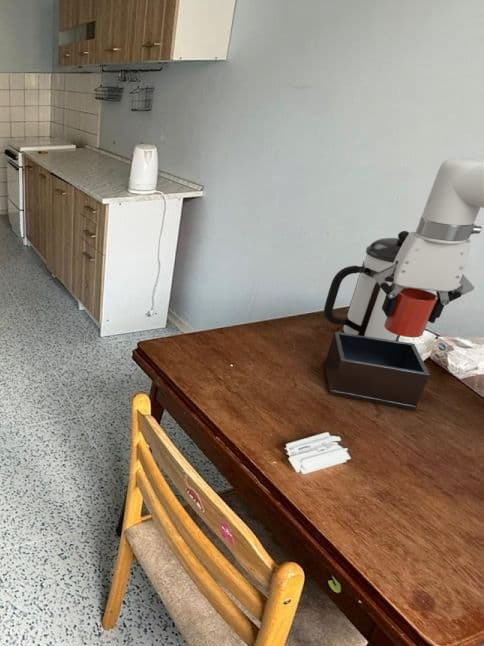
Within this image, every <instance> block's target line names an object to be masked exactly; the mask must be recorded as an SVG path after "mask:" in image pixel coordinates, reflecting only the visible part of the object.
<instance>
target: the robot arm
mask: <svg viewBox="0 0 484 646" xmlns="http://www.w3.org/2000/svg"><path fill="white" fill-rule="evenodd" d="M481 208H482V209H484V158H478V157H451V158H448V159H446V160H444V161H443V162H442V163H441V164H440V166H439V168H438V170H437V173H436V176H435V178H434V181H433V184H432V186H431V189H430V191H429V194H428V198H427V199H426V203H425V206H424V208H423V211H422V214H421V216H420V218H419V221H418V225H417V227H416V230H415V231H410V232H409V235H408V236H407V238H406V239H405V241H404V243H403V244H402V246H401V248H400V250H399V252H398V254H397V256H396V258H395V260H394V263H393V265H392V266H390V267H388V268H386V269H384V270H382V271H380V272H378V273H376V274H374V278H375V280H376V281H377V283H378V284H379V285H380V287H381V288H382V290H383V291H384V292H385V293H386V298H385V300H384V303H383V306H382V310H383V311H384V313H385V315H386V317H391V315H392V313H393V310H394V308H395V305H396V302H397V299H396V296H397V295H398V294H399V293H400V292H401V291H402V290H403V289H404V288H405V287H407V288H415V289H422V290H426V291H432V292H435V295H437V297H438V300H437V302H436V304H435V307H434V309H433V311H432V314H431V316H430V318H429V321H428V323H430V324H435V322H436V320H437V319H439V318H440V317H441V316H442V312H443V310H444V308H445V306H447V305H449V304H450V302H452V301H455V300H457V299H459V298H461V297H462V296H464V295H466V294H468V293H470V292H472V291H474V290H475V286H474V285H473V284H472V282H470V281H469V279H468V278H467V277H466V276H465V275H464V272H465V269H466V265H467V260H468V257H469V253H470V247H471V240H470V237H471V235H475V234H477V235H478V234H481V232H482V228H483V227H482V226H481V225H476V224H475V222H476V219H477V217H478V214H479V212H480V210H481ZM388 276H390V277H391V278H393V279H394V280H393V283H392V284H391V285H390V286H389V285H388V283H387V282H386V281H385V278H386V277H388ZM459 284H460V286H459Z"/></svg>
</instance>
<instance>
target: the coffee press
mask: <svg viewBox="0 0 484 646" xmlns="http://www.w3.org/2000/svg"><path fill="white" fill-rule="evenodd" d="M409 233H410V232H409V231H408V230H402V231H400V232H399V233H398V234H397V237H384V238H379V239H376V240H374V241H372V242H371V243H370V245H368V246H366V249H365V254H366V255H365V258H364V261H362V265H361V266H360V265H359V266H358V265H349V266H346V267H344V268H342V269H340V270H339V271H338V272H337V273H336V274H335V275H334V277H333V278H332V281H331V283H330V287H329V290H328V294H327V297H326V299H325V303H324V308H323V315H324V318H325V319H326V320H327V321H328V322H329V323H331V324H334V325H339V327H337V329H336V332H340V333H347V334H353V335H360V336H366V337H373V338H380V339H386V340H393V341H400V338H401V336H400V335H397V334H394V333H392V332H390V331H388V330H387V329H386V328H385V327H384V325H385V321H386V319H387V317H386V315H385V313H384V311H383V310H382V306H383V303H384V300H385V298H386V293H385V292H384V291H383V290H382V288H381V287H380V285H379V284H378V283H377V281H376V280H375V278H374V274H376V273H378V272H380V271H382V270H384V269H386V268H388V267H390V266H392V265H393V263H394V260H395V258H396V256H397V254H398V252H399V250H400V248H401V246H402V244H403V243H404V241H405V239H406V238H407V236H408V235H409ZM354 274H359V275H358V278H357V282H356V285H355V287H354V291H353V294H352V297H351V300H350V303H349V307H348V310H347V313H346V315H345V317H337V316H334V313H333V311H334V308H335V304H336V300H337V298H338V297H337V296H338V293H339V290H340V287H341V284H342V283H343V281H344V279H345V278H346V277H347V276H350V275H354ZM393 280H394V279H393V278H391V277H390V276H388V277H386V278H385V281H386V282H387V283H388V285H389V286H390V285H391V284H392V283H393ZM405 288H407V287H405ZM341 328H343V330H341Z"/></svg>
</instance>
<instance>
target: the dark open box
mask: <svg viewBox="0 0 484 646" xmlns="http://www.w3.org/2000/svg"><path fill="white" fill-rule="evenodd" d="M329 345H330V346H329V349H328V353H327V355H326V358H325V361H324V366H325V373H326V378H327V384H328V385H327V386H328V390H329V391H328V392H329V394H330V395H334V396H340V397H345V398H349V399H355V400H359V401H366V402H370V403H376V404H380V405H385V406H390V407H396V408H400V409H407V410H411V411H415V410H416V407H417V406H418V403H419V401H420V399H421V396H422V394H423V391H424V389H425V387H426V386H427V385H426V384H427V382H428V380H429V378H430V376H431V374H430V372H429V370H428V368H427V366H426V364H425V362H424V360H423V358H422V356H421V354H420V352H419V350H418V349H417V346H416V344H415V343H412V342H407V341H400V340H399V341H393V340H386V339H380V338H373V337H366V336H360V335H353V334H347V333H345V332H343V333H340V332H337V331H334V333H333V336H332V339H331V343H330V344H329Z"/></svg>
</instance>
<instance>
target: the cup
mask: <svg viewBox="0 0 484 646" xmlns="http://www.w3.org/2000/svg"><path fill="white" fill-rule="evenodd" d="M396 299H397V302H396V305H395V308H394V310H393V313H392V315H391V317H387V319H386V321H385V325H384V327H385V328H386V329H387V330H388V331H390V332H392V333H394V334H397V335H400V337H404V338H420V337H422V336H423V334H424V332H425V330H426V328H427V326H428V323H429V318H430V316H431V314H432V311H433V309H434V307H435V304H436V302H437V300H438V297H437V294H436V293H433V292H431V291H430V290H423V289H415V288H404V289H403V290H402V291H401V292H400V293H399V294H398V295H397V296H396Z"/></svg>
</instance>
